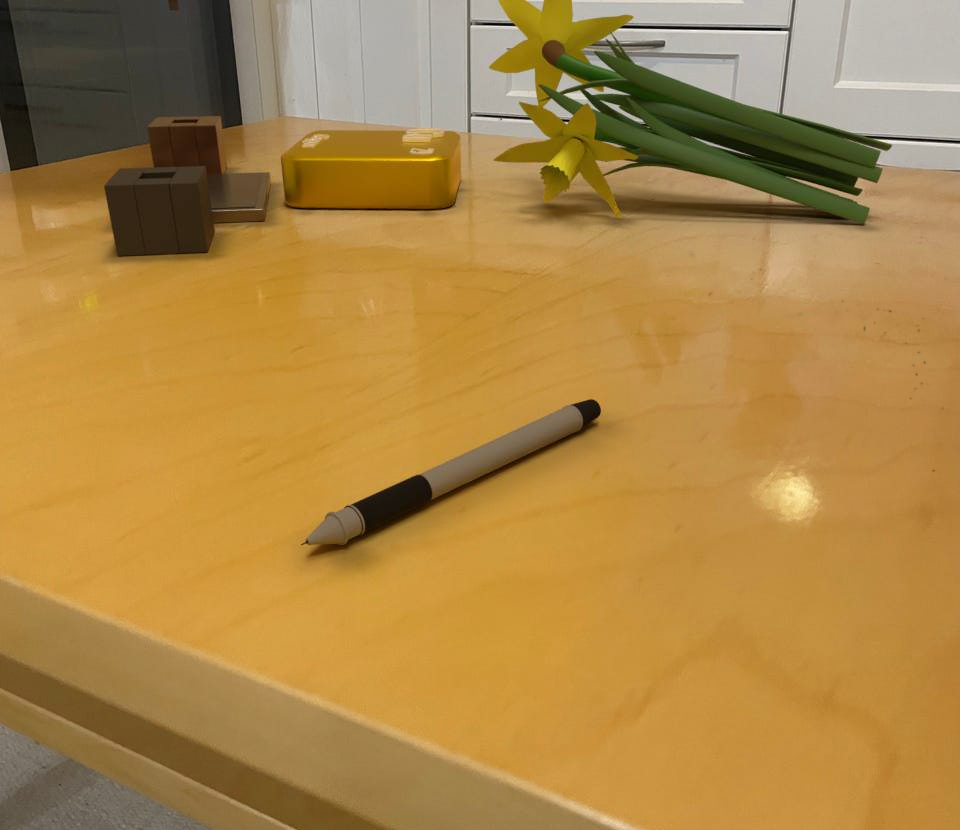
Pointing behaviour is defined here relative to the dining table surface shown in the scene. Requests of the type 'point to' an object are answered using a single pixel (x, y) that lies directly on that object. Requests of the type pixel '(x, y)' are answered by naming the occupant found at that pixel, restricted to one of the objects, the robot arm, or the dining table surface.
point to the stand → (188, 142)
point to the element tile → (373, 169)
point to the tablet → (239, 196)
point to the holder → (160, 210)
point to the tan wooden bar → (173, 5)
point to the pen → (451, 474)
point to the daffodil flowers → (668, 122)
